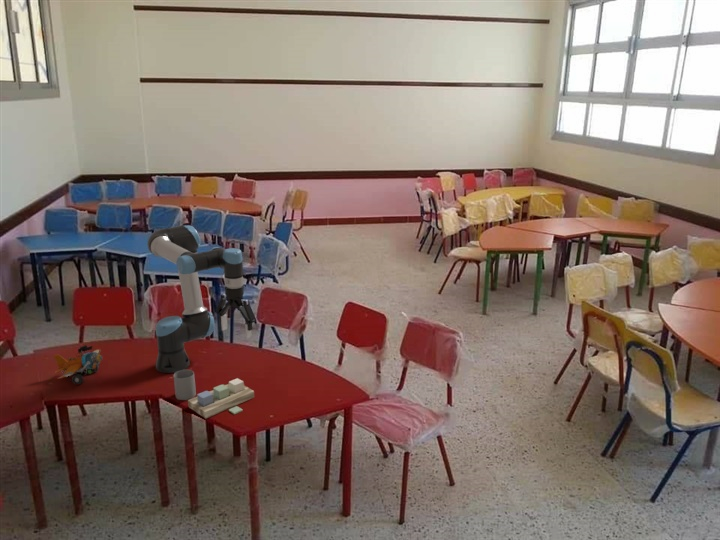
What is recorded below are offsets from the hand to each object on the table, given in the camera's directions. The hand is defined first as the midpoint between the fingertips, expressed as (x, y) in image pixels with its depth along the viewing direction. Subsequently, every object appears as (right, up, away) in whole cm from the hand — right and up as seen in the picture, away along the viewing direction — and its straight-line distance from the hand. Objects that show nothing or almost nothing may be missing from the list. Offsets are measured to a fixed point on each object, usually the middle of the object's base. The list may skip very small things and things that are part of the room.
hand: (236, 333), depth 246 cm
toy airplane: (-74, -22, +17) cm, 79 cm away
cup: (-22, -27, +2) cm, 35 cm away
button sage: (-5, -26, -4) cm, 27 cm away
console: (-5, -28, -4) cm, 29 cm away
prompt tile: (+2, -30, -10) cm, 32 cm away
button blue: (-11, -28, -9) cm, 31 cm away
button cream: (0, -25, +1) cm, 25 cm away
